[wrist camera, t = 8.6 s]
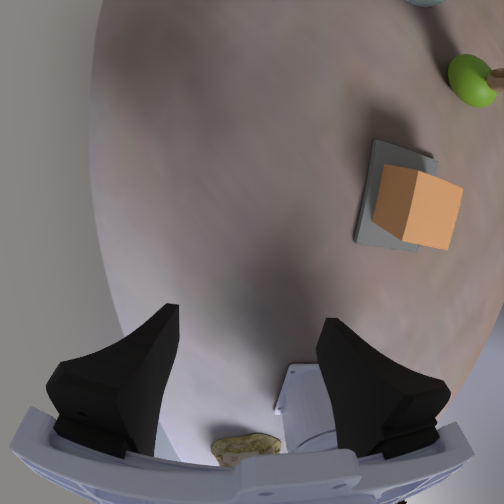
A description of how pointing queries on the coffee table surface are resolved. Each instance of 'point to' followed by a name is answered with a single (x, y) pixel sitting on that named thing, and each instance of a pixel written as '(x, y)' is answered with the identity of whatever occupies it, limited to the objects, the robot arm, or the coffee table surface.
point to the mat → (379, 156)
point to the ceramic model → (243, 448)
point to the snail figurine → (475, 80)
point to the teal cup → (425, 2)
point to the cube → (417, 206)
